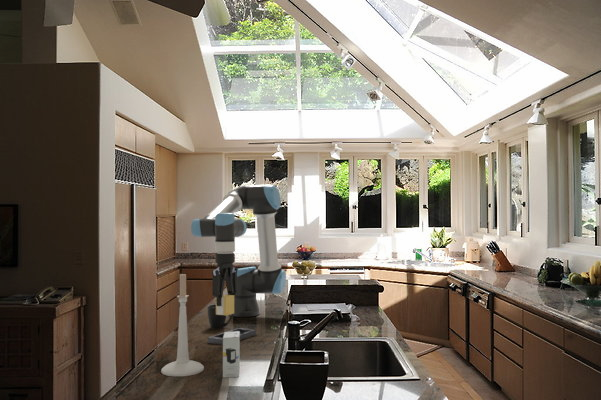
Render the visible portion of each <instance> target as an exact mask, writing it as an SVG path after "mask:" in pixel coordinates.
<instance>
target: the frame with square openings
mask: <svg viewBox="0 0 601 400" xmlns="http://www.w3.org/2000/svg"><path fill="white" fill-rule="evenodd" d="M234 331H240V341H242V340H245V339H249V338H251V337H253V336H256V335H257V329H252V328H251V329H250V328H245V327H244V328H243V327H237V328H235V329H231V330H227V331H224V332H221V333H219V334H215V335H212V336H208V337H207V343H208V344H213V345H220V346H221V345H222V346H223V336H224V333H225V332H234Z"/></svg>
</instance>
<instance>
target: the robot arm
mask: <svg viewBox="0 0 601 400" xmlns="http://www.w3.org/2000/svg"><path fill="white" fill-rule="evenodd" d="M281 202H282V201H281V195H280V191H279V189H278V188H277V186H276V185H274V184H268V183H267V184H253V185H252V184H251V185H250V184H247V185H242V186H241V185H240V186H238V187H237V188H234V189H232V190H230V191H229V192H228V193H227V194H226V195H224V197H223V199H222V201H220V203H219V204H217V205H216V206H215V207H214V208H213V209H212V210H211V211H209V212H208V213H207V214H206V215H205V216H204V217H203V218H194V219H193V220H191V221H192V222H191V223H190V224H191V225H190V232H191V234H192V236H193V237H195V238H197V237H198V238H214V239H215V240H214V242H215V245H214V246H215V247H214V249H215V252H216V253H215V254H214V255H215V256H214V257H215V258H214V260H215V261H214V262H215V263H216V264H217V266H216V269H212V270H211V275H212V285H211V286H212V288H211V289H212V290H211V291H212V297H213V298H215V304H216V305H217V314H218V315H224V297H222V295H224V294H223V293H224V288H225V286H226V291H227V295H234V308H235V313H234V315H233V317H235V318H236V317H237V318H238V317H239V318H245V317H246V318H247V317H248V318H249V317H256V316H260V313H261V311H260V306H259V303H258V301H257V294H264V295H265V294H267V295H280V294H282V293H283V291H284V289H285V286H286V281H287V273H286V270H285V269H282V265H281V264H280V263H279V261H278V249H277V248H278V247H277V234H276V233H277V231H276V221H275V220H276V219H275V216H276V214H277V213H278V210H279V209H280V207H281ZM241 210H252V214H253V215H254V216H255V218H256V226H257V227H256V228H257V236H258V249H259V250H258V251H259V262H260V264H259V265H258V267H256V266H247V267H242V268H241V267H240V268H238V267H234V265H233V264H234V263H235V262H236V261H235V260H236V255H235V253H234V252H236V239H235V238H239V237H242V236H244V234H245V233H246V232H247V227H248V226H247V224H246V222H245V220H243V219H241V218H237V217H235V216H236V215H235V213H237V212H239V211H241ZM229 316H230V317H231V316H232V314H230V315H229Z"/></svg>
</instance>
